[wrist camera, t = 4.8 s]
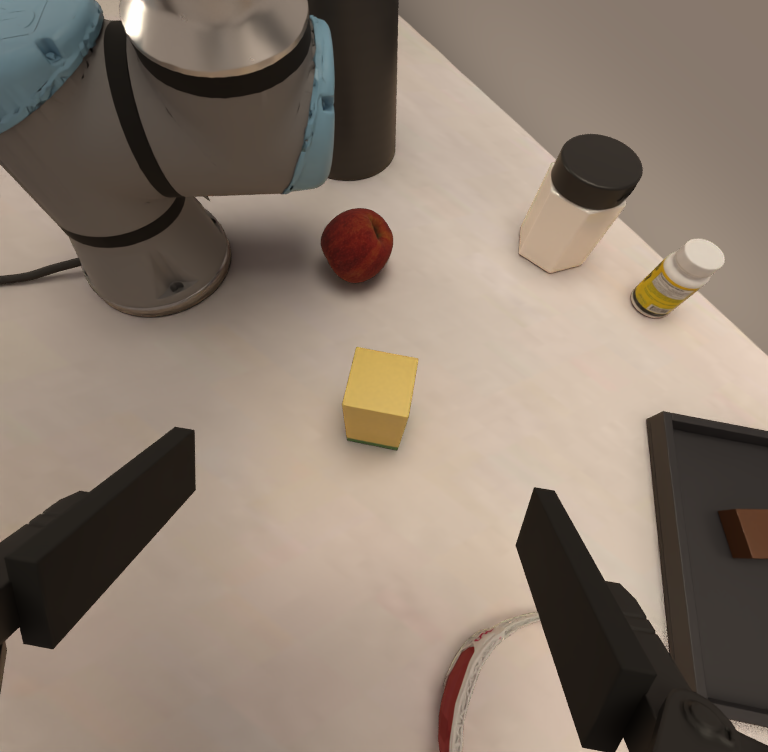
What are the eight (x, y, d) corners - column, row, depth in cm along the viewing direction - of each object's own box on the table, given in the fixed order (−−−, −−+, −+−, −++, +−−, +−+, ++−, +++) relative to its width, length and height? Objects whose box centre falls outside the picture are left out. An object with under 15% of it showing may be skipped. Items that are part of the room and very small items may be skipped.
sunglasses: (421, 608, 32) (443, 617, 28) (598, 603, 36) (643, 610, 31) (431, 921, 25) (463, 1001, 21) (652, 877, 28) (720, 936, 24)
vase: (317, 191, 52) (268, -187, 25) (285, 127, 56) (217, -245, 30) (410, 166, 54) (455, -197, 28) (372, 108, 59) (380, -248, 33)
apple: (378, 303, 45) (381, 254, 37) (314, 284, 45) (305, 233, 38) (396, 255, 48) (402, 201, 40) (336, 238, 48) (331, 182, 41)
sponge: (346, 440, 38) (341, 404, 29) (357, 393, 40) (356, 346, 31) (397, 450, 38) (408, 417, 29) (405, 402, 40) (418, 358, 31)
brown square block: (732, 558, 35) (752, 558, 33) (717, 510, 36) (735, 508, 35) (775, 558, 35) (798, 559, 33) (758, 511, 37) (779, 509, 35)
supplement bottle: (650, 281, 48) (705, 229, 40) (678, 310, 46) (740, 262, 39) (621, 294, 47) (671, 244, 39) (647, 325, 45) (705, 278, 38)
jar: (582, 280, 48) (648, 199, 37) (516, 268, 48) (561, 183, 37) (581, 226, 51) (640, 138, 40) (519, 215, 52) (561, 124, 41)
